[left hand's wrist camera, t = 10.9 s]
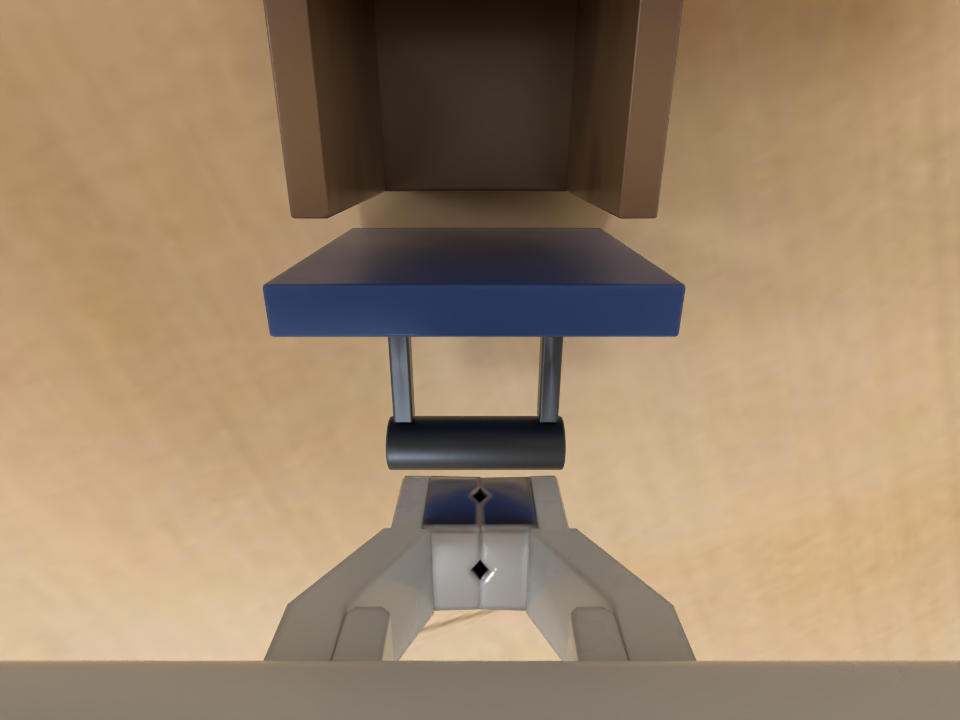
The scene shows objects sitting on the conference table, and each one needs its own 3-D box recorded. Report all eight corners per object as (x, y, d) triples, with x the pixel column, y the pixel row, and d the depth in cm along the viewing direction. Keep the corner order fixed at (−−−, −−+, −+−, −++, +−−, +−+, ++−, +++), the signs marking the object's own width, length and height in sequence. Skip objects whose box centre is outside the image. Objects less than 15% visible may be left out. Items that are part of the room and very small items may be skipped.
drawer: (586, 400, 22) (648, 544, 14) (366, 400, 22) (301, 545, 14) (640, -235, 15) (833, -691, 7) (309, -235, 15) (106, -693, 7)
